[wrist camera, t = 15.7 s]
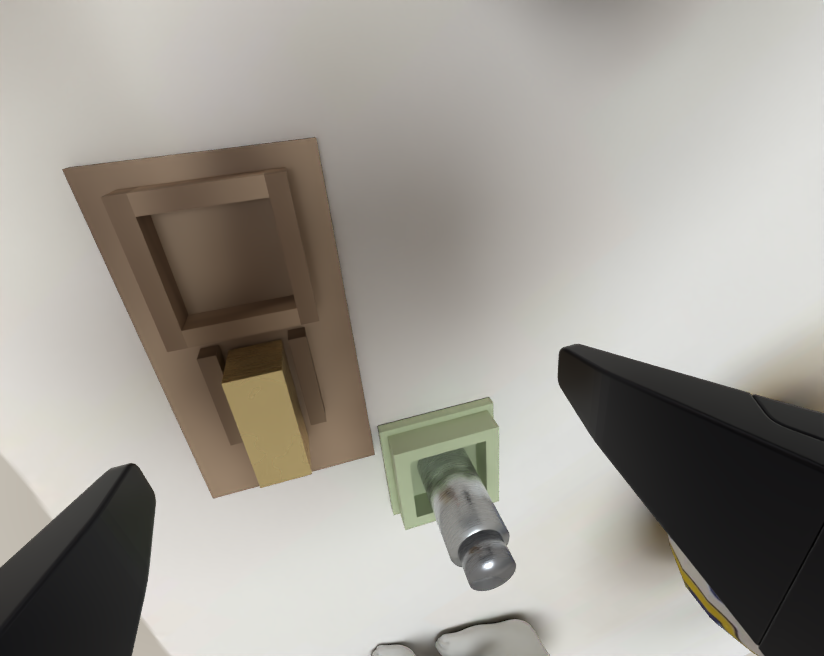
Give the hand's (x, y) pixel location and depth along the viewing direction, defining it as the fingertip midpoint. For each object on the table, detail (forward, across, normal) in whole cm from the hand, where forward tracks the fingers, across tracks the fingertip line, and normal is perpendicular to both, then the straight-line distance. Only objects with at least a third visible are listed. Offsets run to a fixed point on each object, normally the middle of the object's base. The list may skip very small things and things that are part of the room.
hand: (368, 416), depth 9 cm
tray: (+12, -4, +14) cm, 19 cm away
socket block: (+12, +4, +4) cm, 13 cm away
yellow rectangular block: (+11, +4, +7) cm, 14 cm away
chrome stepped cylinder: (+12, -4, +14) cm, 19 cm away
